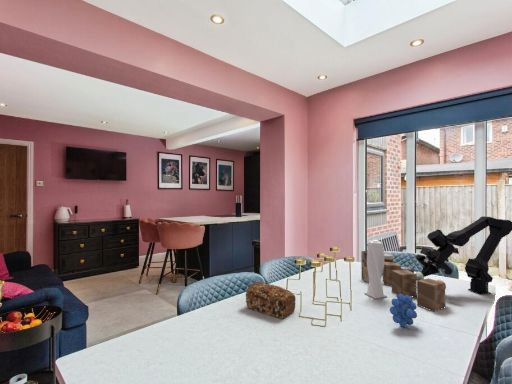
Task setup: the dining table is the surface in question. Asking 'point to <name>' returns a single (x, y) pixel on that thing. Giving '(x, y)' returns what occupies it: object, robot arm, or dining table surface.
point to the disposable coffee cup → (388, 257)
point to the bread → (270, 300)
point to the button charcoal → (408, 268)
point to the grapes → (403, 310)
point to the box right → (431, 294)
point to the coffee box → (364, 266)
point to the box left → (389, 272)
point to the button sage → (419, 276)
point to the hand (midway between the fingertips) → (421, 276)
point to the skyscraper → (375, 269)
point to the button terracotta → (441, 281)
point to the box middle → (404, 282)
